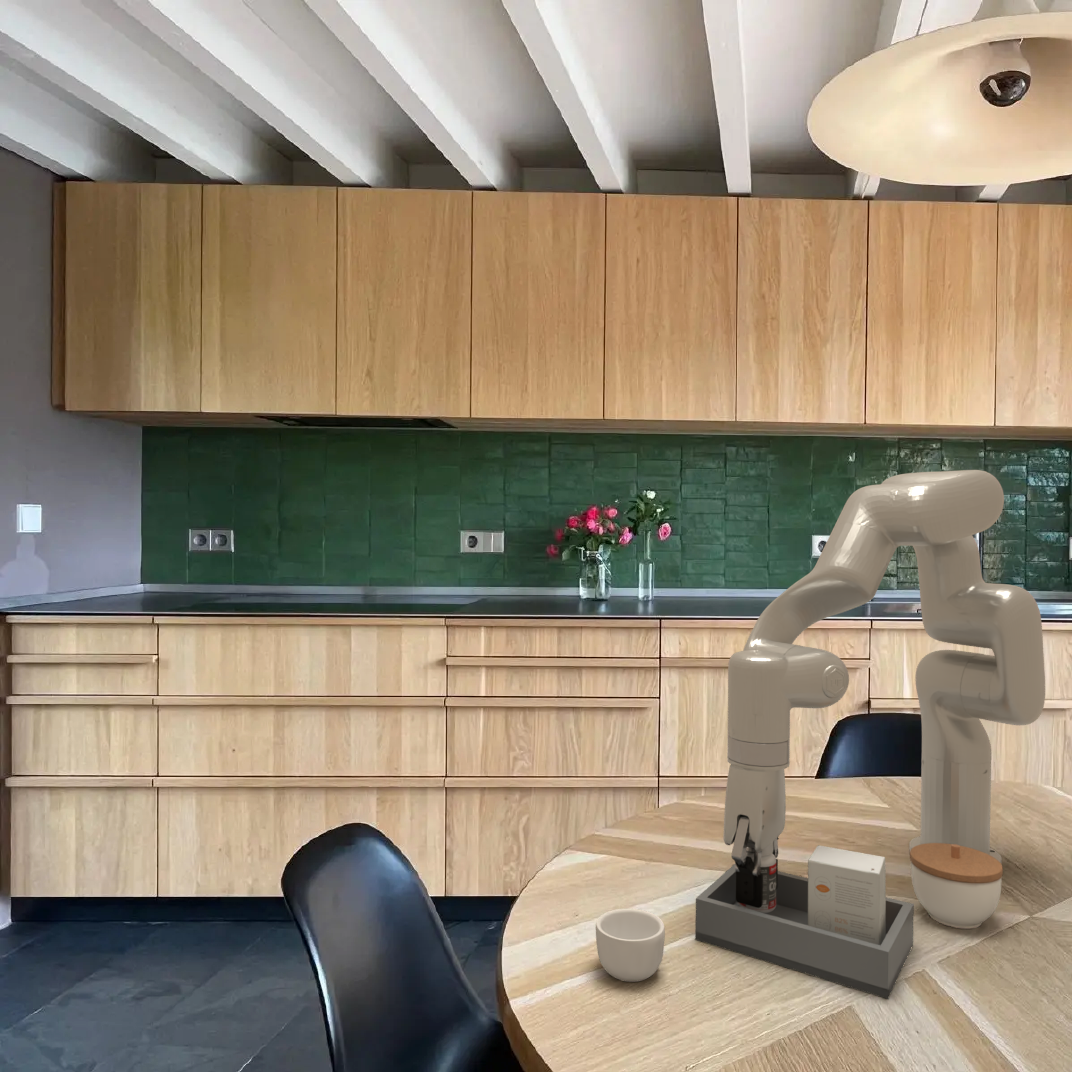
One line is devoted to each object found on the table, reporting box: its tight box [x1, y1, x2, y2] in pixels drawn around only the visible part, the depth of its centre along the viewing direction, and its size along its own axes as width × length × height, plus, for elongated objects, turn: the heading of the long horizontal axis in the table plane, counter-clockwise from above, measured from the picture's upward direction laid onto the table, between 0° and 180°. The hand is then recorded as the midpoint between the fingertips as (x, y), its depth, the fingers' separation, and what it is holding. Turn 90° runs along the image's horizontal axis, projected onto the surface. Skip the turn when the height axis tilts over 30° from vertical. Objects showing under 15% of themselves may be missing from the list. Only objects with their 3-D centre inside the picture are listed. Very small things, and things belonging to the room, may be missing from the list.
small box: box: [807, 845, 887, 946], centre depth 98 cm, size 8×6×10 cm
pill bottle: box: [737, 841, 777, 913], centre depth 104 cm, size 5×5×8 cm
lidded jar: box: [909, 843, 1004, 930], centre depth 107 cm, size 11×11×9 cm
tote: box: [694, 863, 915, 1000], centre depth 101 cm, size 14×22×5 cm, turn 56°
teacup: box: [595, 908, 666, 983], centre depth 94 cm, size 10×8×5 cm
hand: (756, 894), depth 104 cm, fingers closed on pill bottle, 4 cm apart
